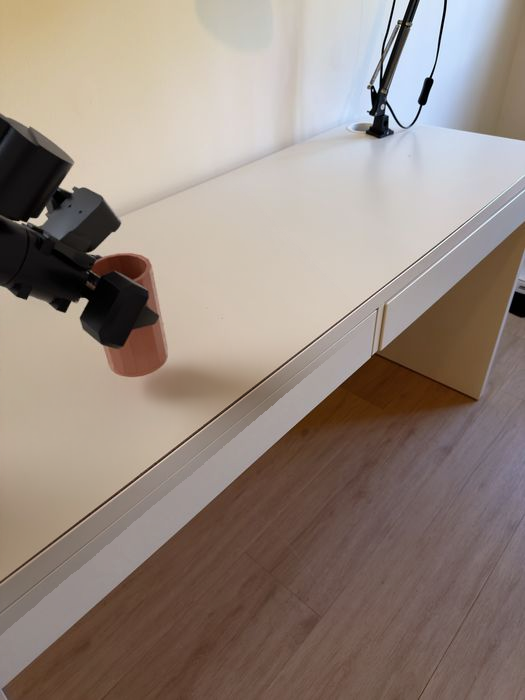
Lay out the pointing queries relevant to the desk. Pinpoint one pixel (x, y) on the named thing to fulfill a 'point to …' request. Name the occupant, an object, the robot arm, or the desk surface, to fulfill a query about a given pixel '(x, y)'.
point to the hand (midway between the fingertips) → (138, 306)
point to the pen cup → (143, 343)
